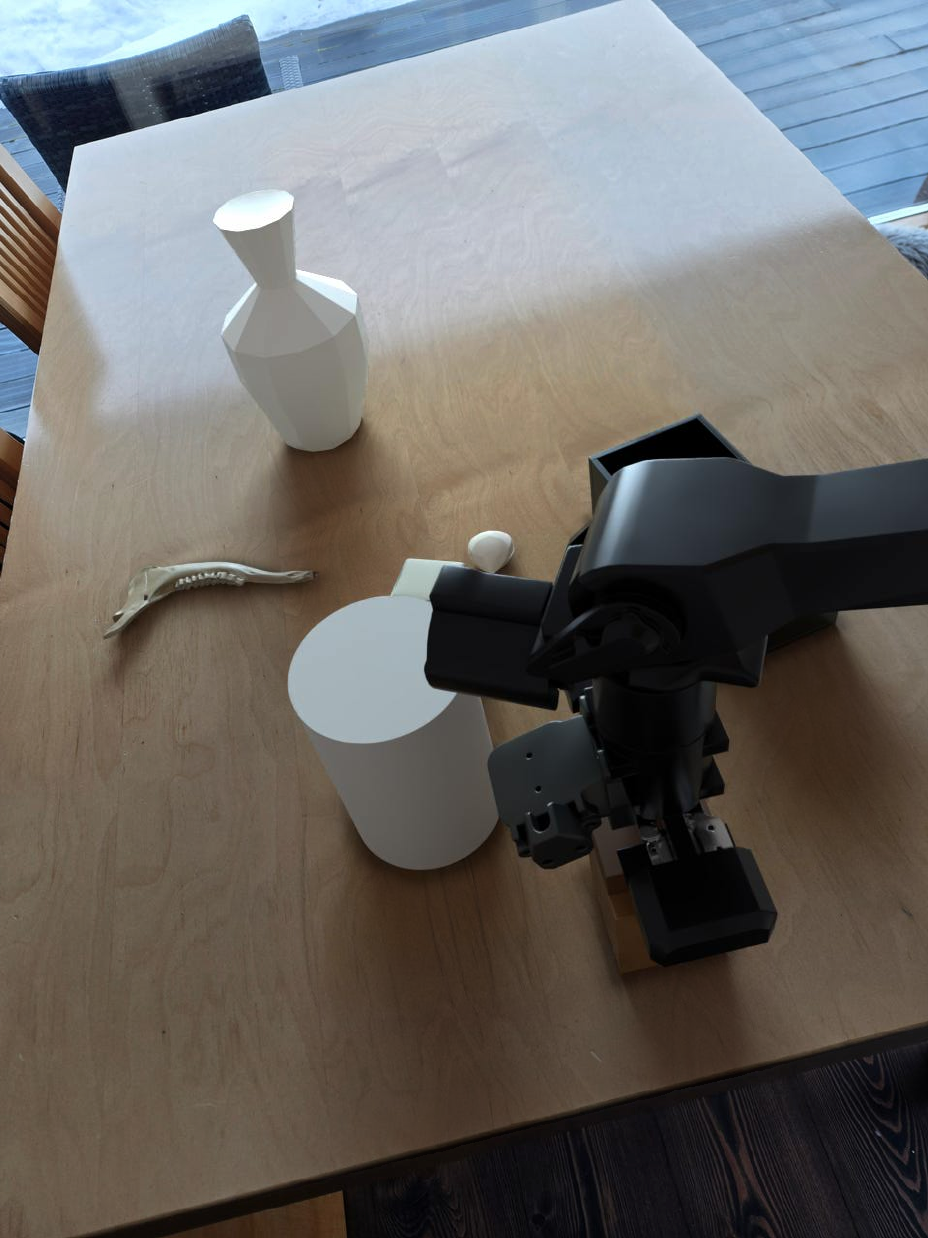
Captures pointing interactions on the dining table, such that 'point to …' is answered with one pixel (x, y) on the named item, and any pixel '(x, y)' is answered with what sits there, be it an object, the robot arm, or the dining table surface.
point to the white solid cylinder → (395, 734)
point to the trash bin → (685, 443)
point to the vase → (293, 329)
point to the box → (419, 577)
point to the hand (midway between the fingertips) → (655, 849)
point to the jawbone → (190, 584)
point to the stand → (621, 924)
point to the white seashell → (491, 550)
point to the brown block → (613, 840)
